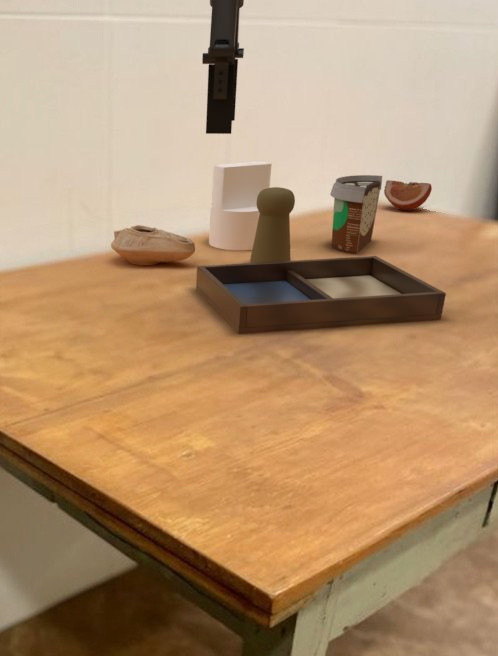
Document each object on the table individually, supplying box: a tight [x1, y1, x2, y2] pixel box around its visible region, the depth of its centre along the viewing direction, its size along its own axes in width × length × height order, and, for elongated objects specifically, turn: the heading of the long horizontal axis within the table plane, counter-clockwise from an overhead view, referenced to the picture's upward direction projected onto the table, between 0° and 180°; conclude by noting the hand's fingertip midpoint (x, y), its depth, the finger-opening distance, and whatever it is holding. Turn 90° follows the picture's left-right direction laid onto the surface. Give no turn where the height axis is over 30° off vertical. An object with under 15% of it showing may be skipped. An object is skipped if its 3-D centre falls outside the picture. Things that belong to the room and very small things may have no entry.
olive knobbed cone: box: [249, 186, 296, 263], centre depth 114 cm, size 6×6×11 cm
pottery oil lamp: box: [110, 224, 196, 266], centre depth 118 cm, size 9×12×7 cm
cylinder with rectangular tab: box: [208, 160, 272, 251], centre depth 126 cm, size 9×9×12 cm
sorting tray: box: [195, 255, 447, 335], centre depth 101 cm, size 25×18×4 cm
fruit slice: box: [383, 179, 433, 211], centre depth 152 cm, size 8×7×5 cm
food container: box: [329, 174, 383, 255], centre depth 125 cm, size 12×6×10 cm, turn 152°
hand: (221, 126), depth 93 cm, fingers open, 13 cm apart
